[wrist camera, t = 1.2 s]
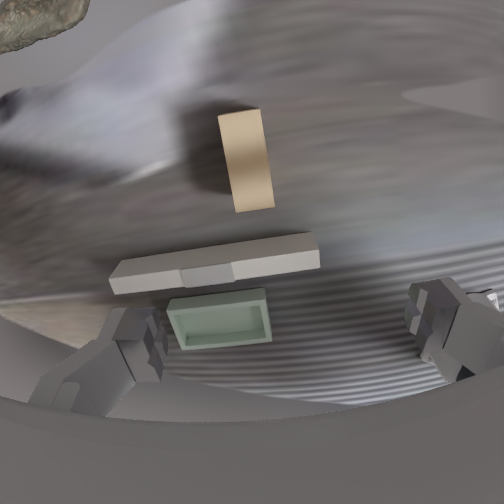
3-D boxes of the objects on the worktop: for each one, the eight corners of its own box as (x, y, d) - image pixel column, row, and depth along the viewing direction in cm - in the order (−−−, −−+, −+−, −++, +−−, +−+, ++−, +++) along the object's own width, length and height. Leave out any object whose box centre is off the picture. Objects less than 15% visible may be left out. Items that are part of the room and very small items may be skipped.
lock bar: (223, 113, 33) (217, 116, 28) (258, 108, 33) (259, 108, 27) (238, 195, 38) (236, 212, 32) (271, 190, 37) (274, 206, 32)
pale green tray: (264, 287, 43) (265, 299, 41) (271, 328, 47) (272, 341, 44) (170, 299, 44) (166, 310, 42) (184, 337, 48) (182, 350, 45)
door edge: (311, 231, 39) (319, 250, 35) (313, 248, 41) (320, 269, 36) (121, 259, 41) (107, 279, 37) (127, 275, 43) (114, 296, 38)
